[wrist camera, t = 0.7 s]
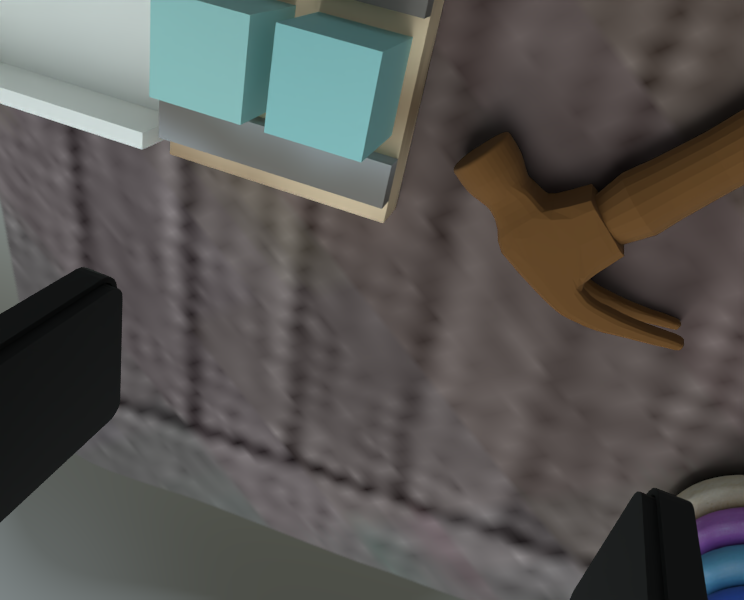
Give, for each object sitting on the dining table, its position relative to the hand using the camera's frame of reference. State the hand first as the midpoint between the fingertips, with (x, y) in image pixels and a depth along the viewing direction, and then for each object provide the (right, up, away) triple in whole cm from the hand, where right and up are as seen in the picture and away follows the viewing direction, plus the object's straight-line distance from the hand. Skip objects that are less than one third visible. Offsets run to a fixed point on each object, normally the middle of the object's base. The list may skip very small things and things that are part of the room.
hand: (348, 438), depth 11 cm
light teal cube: (-5, +13, +16) cm, 22 cm away
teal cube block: (0, +12, +16) cm, 20 cm away
